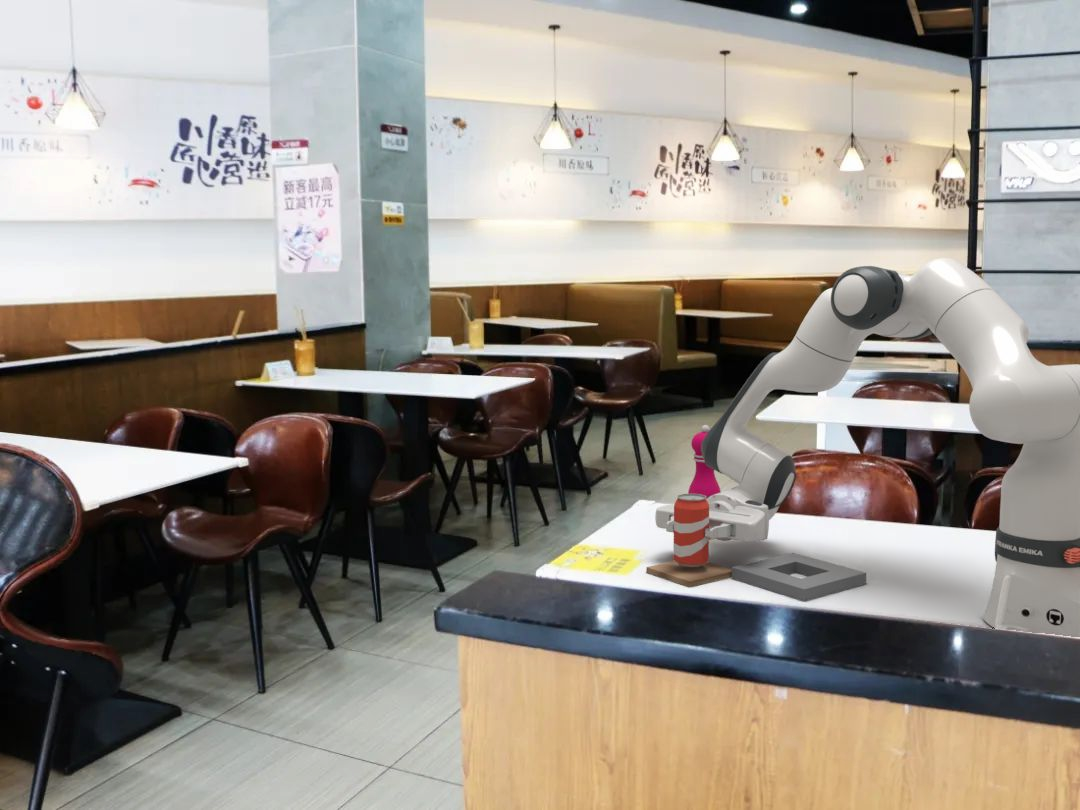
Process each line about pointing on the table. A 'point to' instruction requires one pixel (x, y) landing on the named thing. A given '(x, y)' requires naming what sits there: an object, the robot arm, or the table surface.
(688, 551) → the beverage can
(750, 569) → the dock
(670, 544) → the table surface
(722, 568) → the coaster pad
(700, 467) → the pepper mill
